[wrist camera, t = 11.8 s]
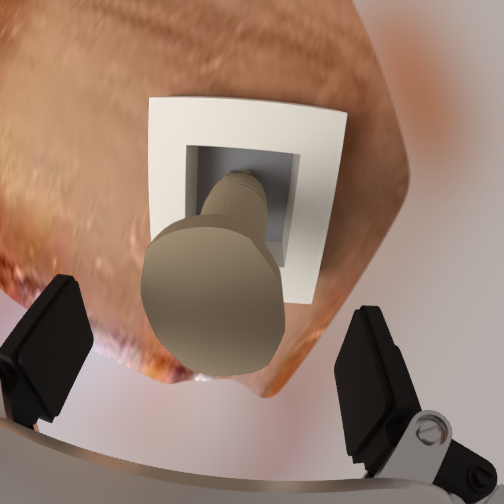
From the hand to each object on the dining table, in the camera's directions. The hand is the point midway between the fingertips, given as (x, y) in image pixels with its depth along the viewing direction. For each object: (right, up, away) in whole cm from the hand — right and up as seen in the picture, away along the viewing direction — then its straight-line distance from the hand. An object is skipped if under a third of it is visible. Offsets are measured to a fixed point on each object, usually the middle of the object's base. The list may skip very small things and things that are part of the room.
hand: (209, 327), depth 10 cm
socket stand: (+1, +8, +15) cm, 17 cm away
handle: (+1, +7, +14) cm, 16 cm away
